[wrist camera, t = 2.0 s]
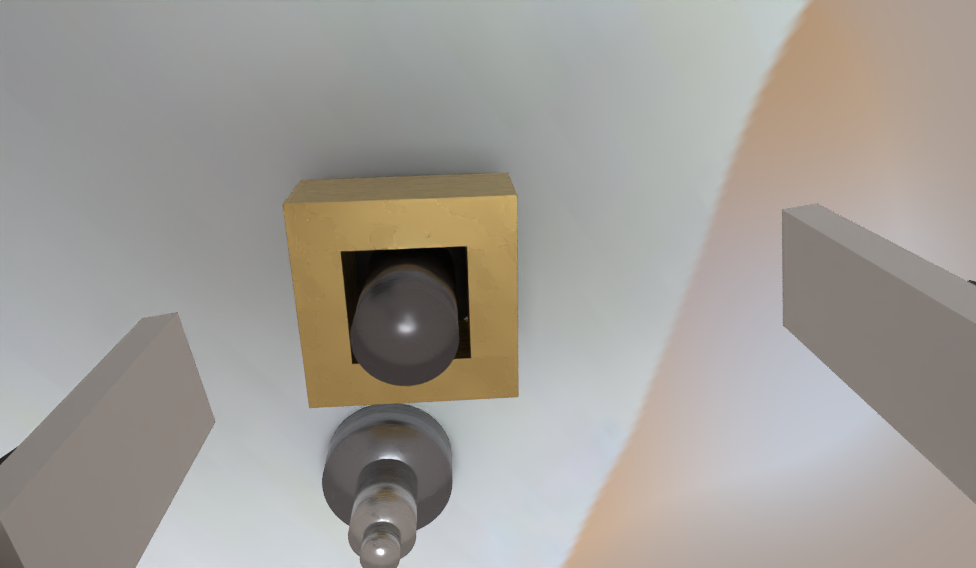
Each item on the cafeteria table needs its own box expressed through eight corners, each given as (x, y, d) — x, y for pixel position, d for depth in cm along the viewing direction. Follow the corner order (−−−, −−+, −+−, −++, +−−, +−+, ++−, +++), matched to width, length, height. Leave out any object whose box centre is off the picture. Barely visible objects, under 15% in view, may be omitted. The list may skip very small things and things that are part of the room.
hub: (335, 509, 41) (312, 621, 34) (322, 406, 39) (295, 502, 31) (453, 502, 42) (457, 611, 34) (448, 400, 39) (451, 493, 32)
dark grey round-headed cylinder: (351, 316, 37) (321, 422, 28) (338, 187, 34) (301, 255, 25) (483, 310, 37) (498, 413, 28) (479, 182, 35) (495, 247, 25)
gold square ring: (323, 364, 34) (309, 407, 31) (301, 179, 31) (282, 204, 27) (509, 355, 35) (518, 396, 31) (507, 172, 32) (517, 195, 28)
